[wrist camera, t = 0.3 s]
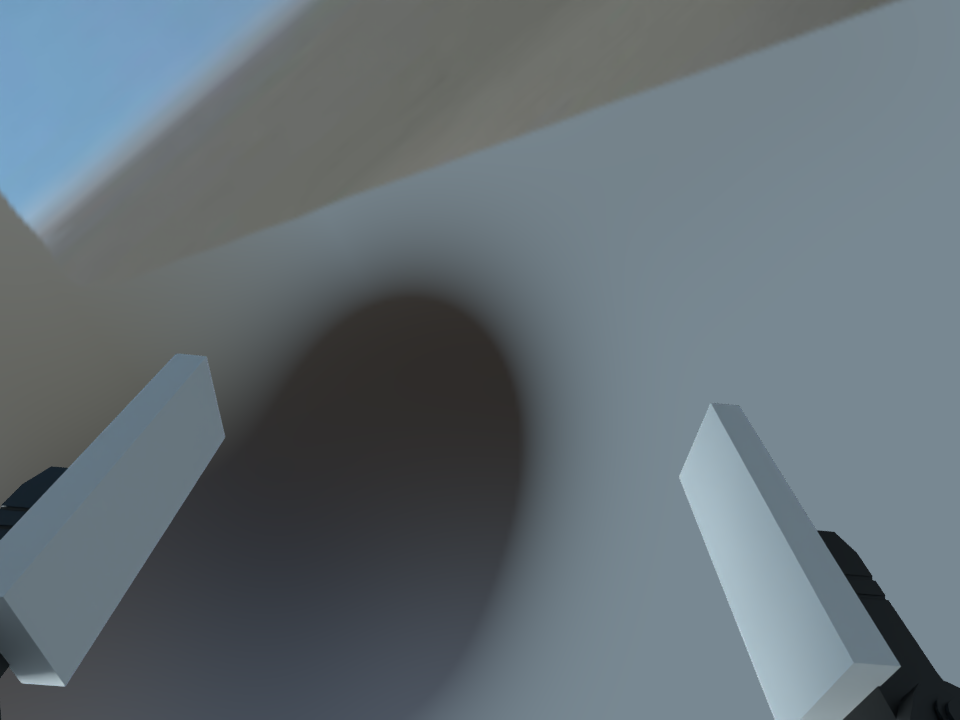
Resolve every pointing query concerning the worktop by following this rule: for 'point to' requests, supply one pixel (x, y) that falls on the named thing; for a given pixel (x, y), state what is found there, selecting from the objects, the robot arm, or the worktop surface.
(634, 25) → the worktop surface
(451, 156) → the worktop surface
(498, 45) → the worktop surface
